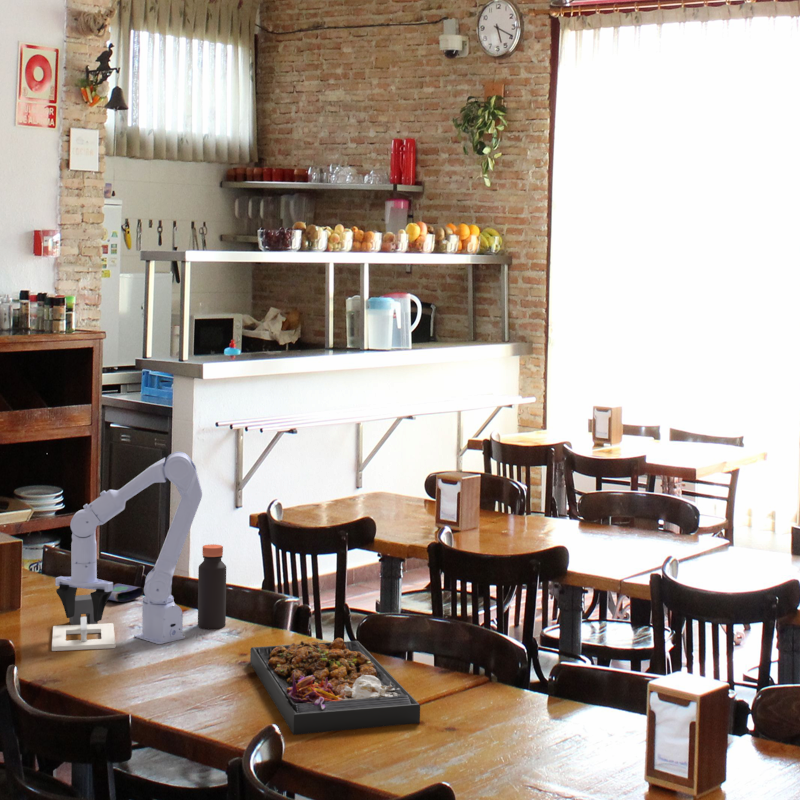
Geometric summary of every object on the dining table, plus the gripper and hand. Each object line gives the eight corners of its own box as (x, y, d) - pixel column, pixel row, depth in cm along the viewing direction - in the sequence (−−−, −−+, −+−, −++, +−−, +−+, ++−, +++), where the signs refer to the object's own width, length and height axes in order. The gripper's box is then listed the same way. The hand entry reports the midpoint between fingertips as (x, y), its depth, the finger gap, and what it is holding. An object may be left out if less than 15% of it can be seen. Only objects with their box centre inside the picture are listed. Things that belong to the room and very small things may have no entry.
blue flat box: (116, 593, 312) (89, 589, 319) (117, 604, 313) (90, 600, 319) (143, 585, 320) (116, 581, 326) (144, 596, 320) (116, 592, 326)
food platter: (419, 727, 230) (421, 674, 229) (293, 738, 222) (294, 683, 222) (357, 659, 272) (358, 615, 272) (250, 667, 265) (250, 621, 264)
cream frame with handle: (115, 647, 275) (115, 632, 275) (51, 651, 271) (51, 635, 271) (113, 627, 292) (113, 612, 292) (53, 629, 288) (53, 615, 288)
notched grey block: (93, 619, 299) (93, 594, 298) (97, 624, 294) (97, 598, 294) (69, 622, 296) (69, 596, 296) (73, 627, 292) (73, 600, 291)
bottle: (223, 630, 291) (224, 549, 290) (195, 630, 291) (196, 548, 290) (227, 623, 298) (228, 544, 297) (200, 622, 298) (201, 543, 297)
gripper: (120, 561, 282) (120, 618, 283) (68, 555, 286) (68, 611, 288) (103, 566, 275) (102, 625, 276) (49, 561, 280) (49, 618, 281)
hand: (84, 618), depth 281 cm, fingers open, 7 cm apart
